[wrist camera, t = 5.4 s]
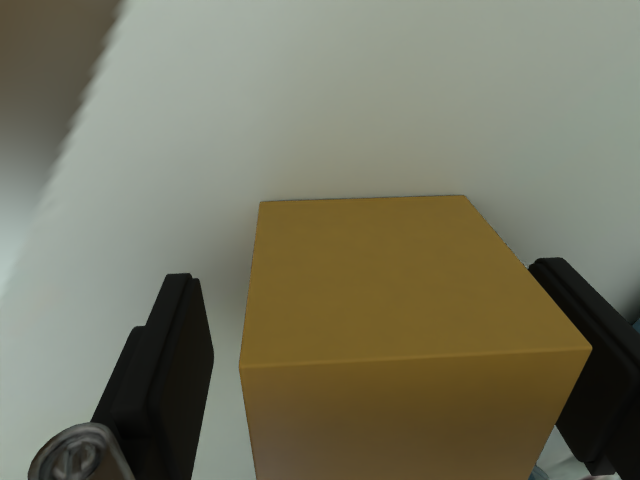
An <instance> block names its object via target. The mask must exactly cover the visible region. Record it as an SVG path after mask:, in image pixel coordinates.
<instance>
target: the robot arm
mask: <svg viewBox="0 0 640 480" xmlns="http://www.w3.org/2000/svg"><path fill="white" fill-rule="evenodd" d="M528 271H529V272H530V273H531V275H532V276H533V277H534V278H535V279H536V281H537V282H538V283H539V284H540V285H541V286H542V288H543V289H544V290H545V291H546V292H547V294H548V295H549V296H550V297H551V298H552V299H553V301H554V302H555V303H556V304H557V305H558V307H559V308H560V309H561V310H562V311H563V312H564V314H565V315H566V316H567V317H568V318H569V320H570V321H571V322H572V323H573V324H574V325H575V327H576V328H577V329H578V330H579V331H580V333H581V334H582V335H583V336H584V337H585V339H586V340H587V341H588V342H589V343H590V344H591V346H592V351H591V353H590V355H589V357H588V359H587V361H586V363H585V365H584V367H583V369H582V371H581V373H580V375H579V377H578V379H577V381H576V383H575V385H574V387H573V389H572V391H571V393H570V395H569V397H568V399H567V401H566V403H565V405H564V407H563V409H562V411H561V413H560V415H559V417H558V419H557V421H556V423H555V425H556V427H557V429H558V430H559V432H560V433H561V435H562V437H563V438H564V440H565V442H566V443H567V445H568V447H569V448H570V450H571V452H572V453H573V455H574V456H575V457H576V459H577V460H579V461H580V462H583V463H584V464H585V466H586V468H587V469H588V471H589V472H590V474H591V476H600V475H613V474H614V473H615V472H617V473H618V475H619V476H620V478H621V479H622V480H640V334H639V333H638V332H637V331H636V330H635V329H634V328H633V327H632V326H631V325H630V324H629V323H628V322H627V321H626V320H625V319H624V318H623V317H622V316H621V315H620V314H619V313H618V312H617V311H616V310H615V309H614V308H613V307H612V306H611V305H610V304H609V303H608V302H607V301H606V300H605V299H604V298H603V297H602V296H601V295H600V294H599V293H598V292H597V291H596V290H595V289H594V288H593V287H592V286H591V285H590V284H589V283H588V282H587V281H586V280H585V279H584V278H583V277H582V276H581V275H580V274H579V273H578V272H577V271H576V270H575V269H574V268H573V267H572V266H571V265H570V264H569V263H568V262H566V261H565V260H564V259H563V258H559V257H556V258H539V259H537V260H536V261H535V262H534V264H531V265H530V266H529V268H528ZM213 363H214V350H213V345H212V340H211V335H210V330H209V325H208V320H207V315H206V310H205V305H204V300H203V295H202V290H201V285H200V281H199V279H198V278H192V276H191V274H190V273H179V274H167V275H166V277H165V279H164V282H163V284H162V286H161V289H160V291H159V294H158V296H157V299H156V301H155V303H154V306H153V308H152V311H151V313H150V315H149V318H148V320H147V323H146V325H145V326H136V327H134V328H133V329H132V331H131V333H130V335H129V337H128V339H127V341H126V343H125V346H124V348H123V350H122V352H121V355H120V357H119V359H118V361H117V363H116V366H115V368H114V370H113V372H112V375H111V377H110V379H109V381H108V383H107V386H106V388H105V390H104V392H103V395H102V397H101V399H100V401H99V403H98V406H97V408H96V410H95V412H94V415H93V417H92V419H91V421H90V422H87V423H82V424H78V425H74V426H72V427H70V428H67V429H65V430H63V431H61V432H60V433H58V434H57V435H56V436H54V437H53V438H51V439H50V440H49V441H48V442H47V443H46V444H45V445H44V446H43V447H42V448H41V449H40V450H39V451H38V453H37V454H36V456H35V457H34V459H33V460H32V462H31V465H30V468H29V471H28V480H191V477H192V472H193V467H194V462H195V457H196V451H197V446H198V441H199V436H200V431H201V426H202V420H203V415H204V410H205V405H206V400H207V395H208V390H209V384H210V379H211V374H212V369H213Z"/></svg>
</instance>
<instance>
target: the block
mask: <svg viewBox="0 0 640 480" xmlns="http://www.w3.org/2000/svg"><path fill="white" fill-rule="evenodd" d="M591 351H592V346H591V344H590V343H589V342H588V341H587V340H586V339H585V337H584V336H583V335H582V334H581V333H580V331H579V330H578V329H577V328H576V327H575V325H574V324H573V323H572V322H571V321H570V320H569V318H568V317H567V316H566V315H565V314H564V312H563V311H562V310H561V309H560V308H559V307H558V305H557V304H556V303H555V302H554V301H553V299H552V298H551V297H550V296H549V295H548V294H547V292H546V291H545V290H544V289H543V288H542V286H541V285H540V284H539V283H538V282H537V281H536V279H535V278H534V277H533V276H532V275H531V273H530V272H529V271H528V270H527V269H526V267H525V266H524V265H523V264H522V263H521V262H520V260H519V259H518V258H517V257H516V256H515V254H514V253H513V252H512V251H511V250H510V249H509V247H508V246H507V245H506V244H505V243H504V241H503V240H502V239H501V238H500V237H499V236H498V234H497V233H496V232H495V231H494V230H493V228H492V227H491V226H490V225H489V224H488V223H487V221H486V220H485V219H484V218H483V217H482V215H481V214H480V213H479V212H478V211H477V209H476V208H475V207H474V206H473V205H472V204H471V202H470V201H469V200H468V199H467V198H466V196H464V195H454V196H423V197H392V198H361V199H330V200H299V201H268V202H260V205H259V213H258V221H257V228H256V236H255V244H254V251H253V259H252V267H251V275H250V282H249V290H248V298H247V305H246V313H245V321H244V329H243V336H242V344H241V352H240V360H239V372H240V379H241V385H242V391H243V398H244V404H245V410H246V417H247V423H248V429H249V436H250V442H251V448H252V454H253V461H254V467H255V473H256V480H528V478H529V476H530V474H531V472H532V470H533V468H534V466H535V464H536V462H537V460H538V458H539V456H540V454H541V452H542V450H543V448H544V446H545V444H546V442H547V440H548V438H549V436H550V434H551V432H552V430H553V428H554V425H555V423H556V421H557V419H558V417H559V415H560V413H561V411H562V409H563V407H564V405H565V403H566V401H567V399H568V397H569V395H570V393H571V391H572V389H573V387H574V385H575V383H576V381H577V379H578V377H579V375H580V373H581V371H582V369H583V367H584V365H585V363H586V361H587V359H588V357H589V355H590V353H591Z"/></svg>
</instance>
